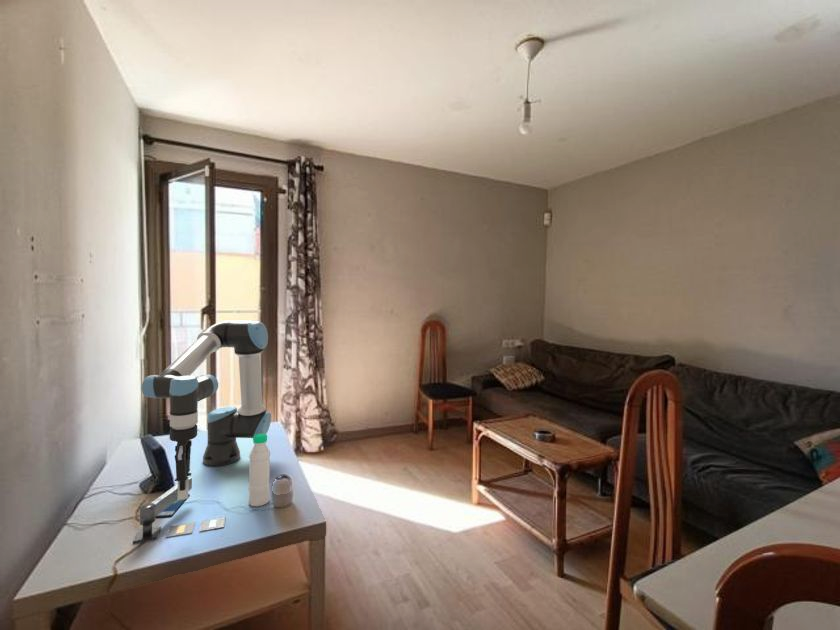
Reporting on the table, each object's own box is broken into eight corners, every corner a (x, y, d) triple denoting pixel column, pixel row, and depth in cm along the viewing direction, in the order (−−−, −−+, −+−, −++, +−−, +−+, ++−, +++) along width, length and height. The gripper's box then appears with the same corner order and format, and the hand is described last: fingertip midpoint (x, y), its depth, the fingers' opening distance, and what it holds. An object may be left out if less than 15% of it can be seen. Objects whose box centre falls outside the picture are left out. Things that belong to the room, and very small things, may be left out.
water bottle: (249, 509, 136) (250, 439, 135) (248, 499, 142) (249, 433, 141) (270, 504, 139) (271, 437, 138) (268, 495, 145) (269, 430, 144)
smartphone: (148, 517, 128) (170, 494, 143) (148, 520, 128) (170, 496, 143) (171, 516, 129) (190, 493, 144) (171, 518, 129) (190, 495, 144)
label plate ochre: (170, 526, 124) (170, 525, 124) (195, 522, 127) (195, 521, 127) (166, 537, 118) (166, 536, 118) (192, 533, 121) (192, 532, 121)
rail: (136, 524, 117) (136, 509, 117) (183, 489, 139) (183, 476, 139) (148, 525, 117) (148, 510, 117) (194, 489, 139) (194, 476, 139)
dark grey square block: (138, 532, 121) (138, 519, 121) (161, 528, 123) (161, 515, 123) (132, 543, 115) (132, 530, 115) (156, 539, 118) (156, 526, 117)
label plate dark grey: (202, 521, 127) (202, 520, 127) (225, 517, 130) (225, 516, 130) (199, 532, 122) (199, 530, 122) (223, 527, 125) (223, 526, 125)
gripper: (174, 420, 126) (173, 490, 127) (164, 433, 114) (164, 511, 115) (200, 418, 129) (199, 486, 130) (193, 431, 117) (193, 506, 118)
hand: (183, 498), depth 122 cm, fingers closed
